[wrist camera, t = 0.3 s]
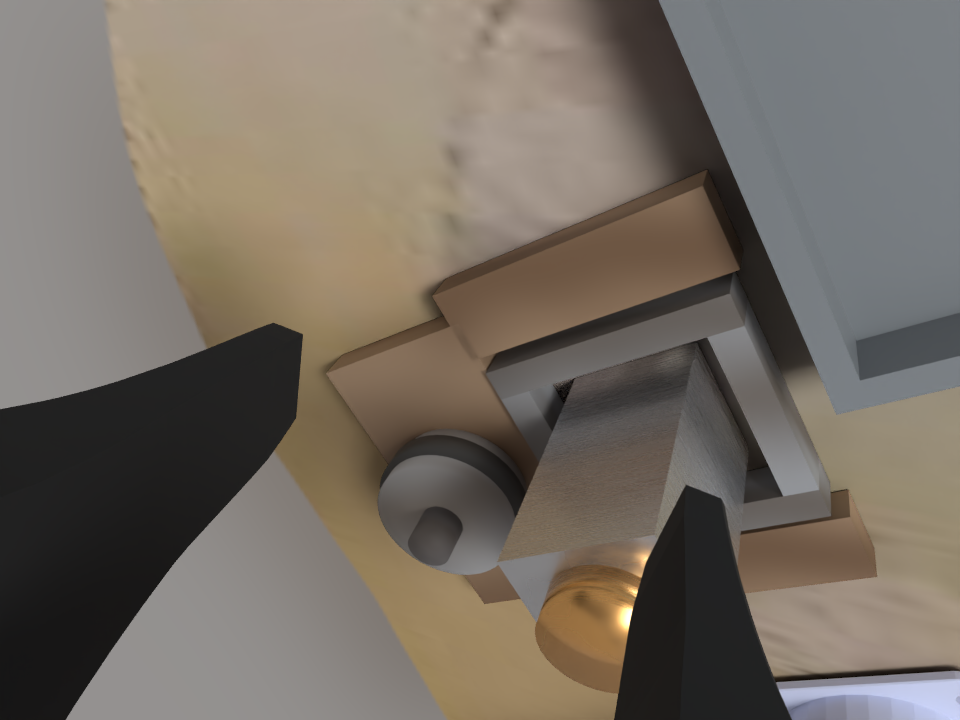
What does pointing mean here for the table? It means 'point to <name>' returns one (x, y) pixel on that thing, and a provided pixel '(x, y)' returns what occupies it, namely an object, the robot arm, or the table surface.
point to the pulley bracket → (574, 352)
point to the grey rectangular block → (617, 501)
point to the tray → (846, 173)
